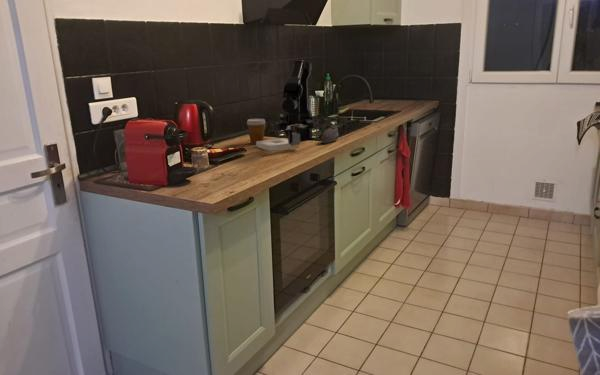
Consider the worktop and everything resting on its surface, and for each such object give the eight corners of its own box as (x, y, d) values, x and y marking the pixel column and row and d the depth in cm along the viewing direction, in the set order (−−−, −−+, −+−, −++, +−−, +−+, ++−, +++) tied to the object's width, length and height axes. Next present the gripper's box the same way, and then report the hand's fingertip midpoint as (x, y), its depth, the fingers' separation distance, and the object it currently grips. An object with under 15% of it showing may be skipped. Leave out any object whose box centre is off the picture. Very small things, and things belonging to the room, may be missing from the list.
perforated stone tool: (326, 145, 241) (326, 131, 239) (317, 144, 244) (317, 130, 242) (341, 140, 253) (341, 126, 251) (332, 139, 256) (332, 126, 254)
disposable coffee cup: (269, 141, 252) (268, 118, 249) (262, 145, 243) (261, 121, 240) (251, 141, 255) (250, 118, 251) (244, 144, 246) (243, 121, 243)
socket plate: (284, 142, 249) (284, 136, 248) (298, 147, 238) (298, 140, 237) (256, 146, 241) (256, 139, 240) (270, 151, 230) (269, 144, 229)
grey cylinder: (295, 144, 234) (295, 132, 233) (300, 146, 231) (299, 133, 229) (288, 145, 232) (288, 133, 231) (292, 147, 229) (292, 134, 227)
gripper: (301, 106, 238) (301, 138, 242) (267, 109, 229) (268, 142, 233) (314, 108, 229) (314, 141, 233) (279, 111, 220) (280, 146, 224)
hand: (294, 142), depth 231 cm, fingers closed on grey cylinder, 4 cm apart
